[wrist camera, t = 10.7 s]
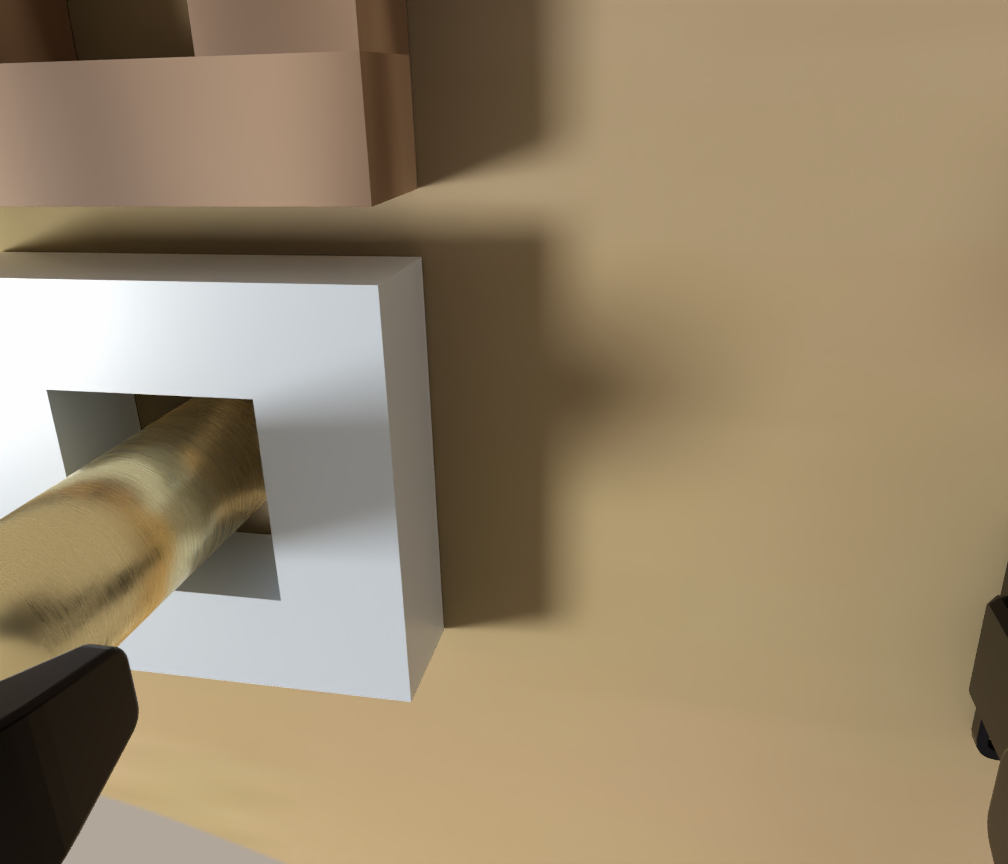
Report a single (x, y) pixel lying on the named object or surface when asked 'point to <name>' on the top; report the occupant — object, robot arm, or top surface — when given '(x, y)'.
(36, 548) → the pin
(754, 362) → the top surface
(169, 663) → the socket
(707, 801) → the top surface
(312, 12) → the mount
